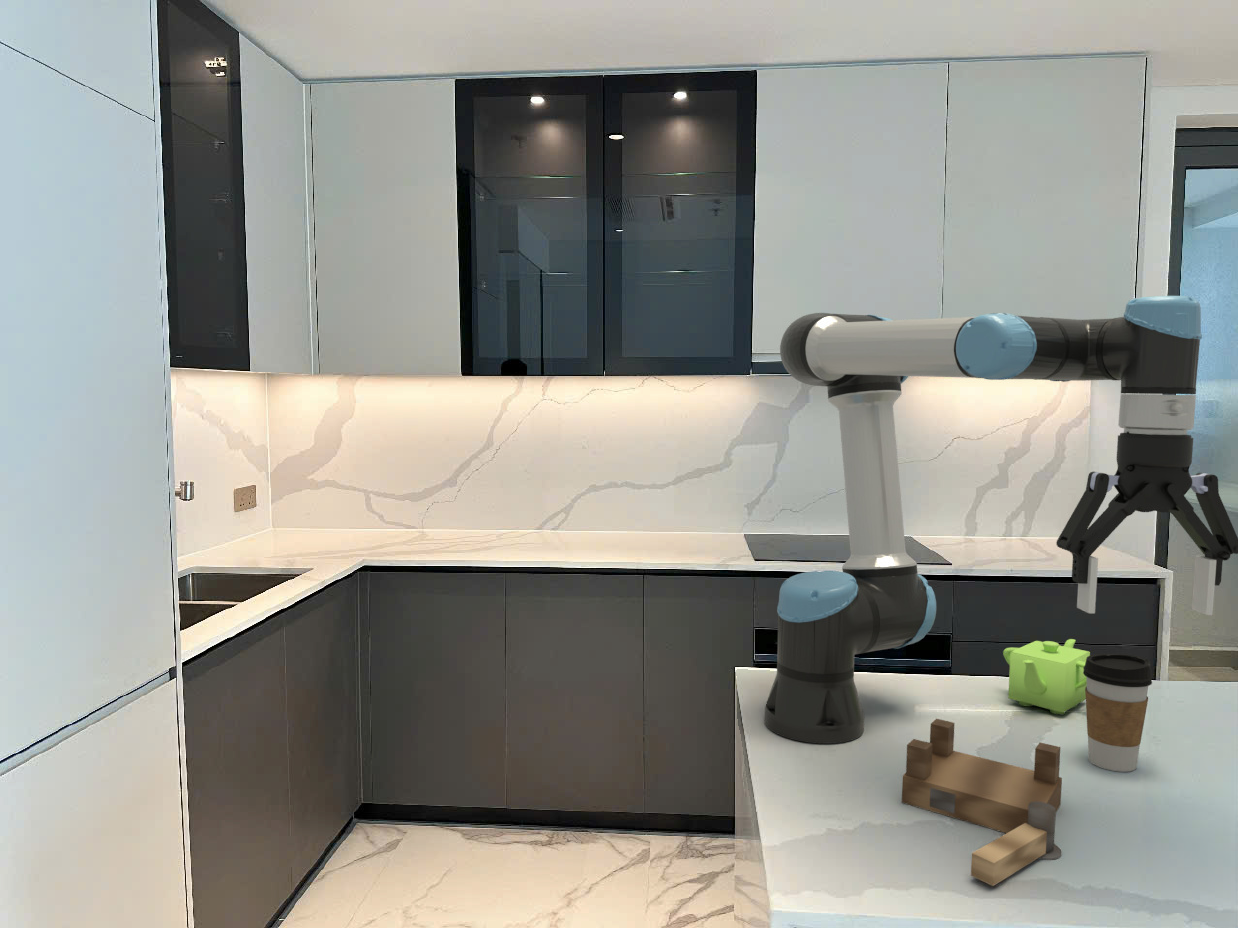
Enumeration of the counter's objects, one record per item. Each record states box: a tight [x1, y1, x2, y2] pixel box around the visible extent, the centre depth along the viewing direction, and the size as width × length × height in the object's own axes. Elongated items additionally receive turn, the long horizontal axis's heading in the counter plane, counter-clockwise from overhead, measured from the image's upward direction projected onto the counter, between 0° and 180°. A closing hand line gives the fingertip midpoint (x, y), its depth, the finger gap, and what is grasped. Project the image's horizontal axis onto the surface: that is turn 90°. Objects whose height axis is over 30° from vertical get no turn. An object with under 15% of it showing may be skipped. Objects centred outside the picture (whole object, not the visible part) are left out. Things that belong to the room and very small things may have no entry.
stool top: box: [901, 718, 1063, 861], centre depth 109 cm, size 19×16×8 cm
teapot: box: [1002, 638, 1091, 715], centre depth 147 cm, size 15×13×11 cm
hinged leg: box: [970, 801, 1057, 887], centre depth 97 cm, size 14×3×4 cm, turn 128°
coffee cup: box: [1083, 653, 1153, 773], centre depth 124 cm, size 8×8×15 cm
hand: (1143, 611), depth 104 cm, fingers open, 13 cm apart
